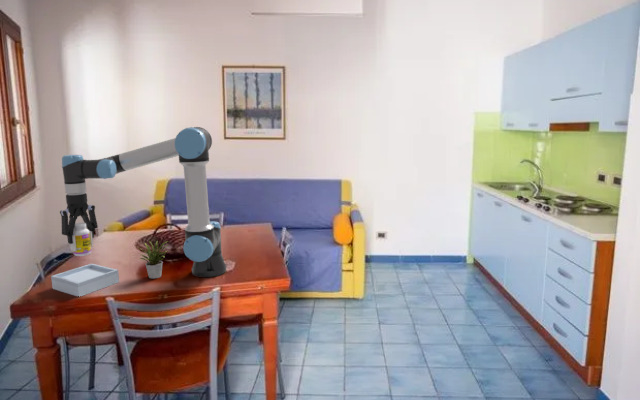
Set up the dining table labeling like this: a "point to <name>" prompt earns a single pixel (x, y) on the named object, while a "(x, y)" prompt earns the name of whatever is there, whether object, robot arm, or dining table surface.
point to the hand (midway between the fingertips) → (82, 248)
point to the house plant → (154, 260)
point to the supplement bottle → (82, 240)
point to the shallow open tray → (85, 279)
